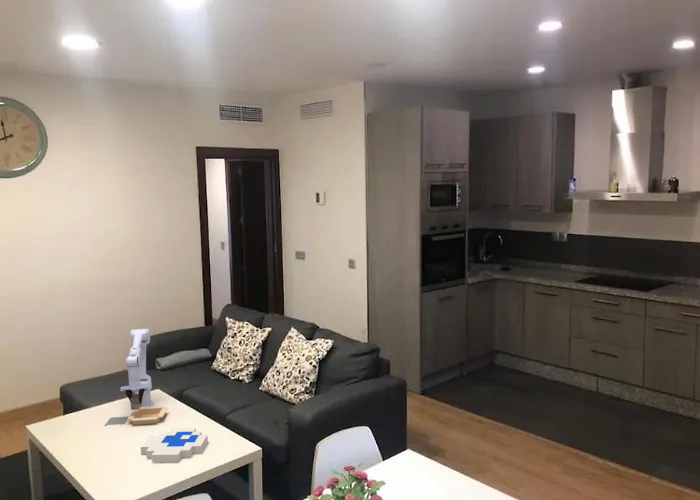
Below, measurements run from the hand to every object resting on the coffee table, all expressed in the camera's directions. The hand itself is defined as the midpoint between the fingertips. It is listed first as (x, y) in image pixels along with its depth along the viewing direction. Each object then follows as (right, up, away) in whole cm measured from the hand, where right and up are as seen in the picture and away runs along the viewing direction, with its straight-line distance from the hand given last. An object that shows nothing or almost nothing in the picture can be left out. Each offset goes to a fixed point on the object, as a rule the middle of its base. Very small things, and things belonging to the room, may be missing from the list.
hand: (136, 403), depth 310 cm
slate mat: (-10, -10, 0) cm, 14 cm away
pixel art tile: (+30, -13, -33) cm, 47 cm away
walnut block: (0, -2, 0) cm, 2 cm away
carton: (+6, -9, +2) cm, 11 cm away
